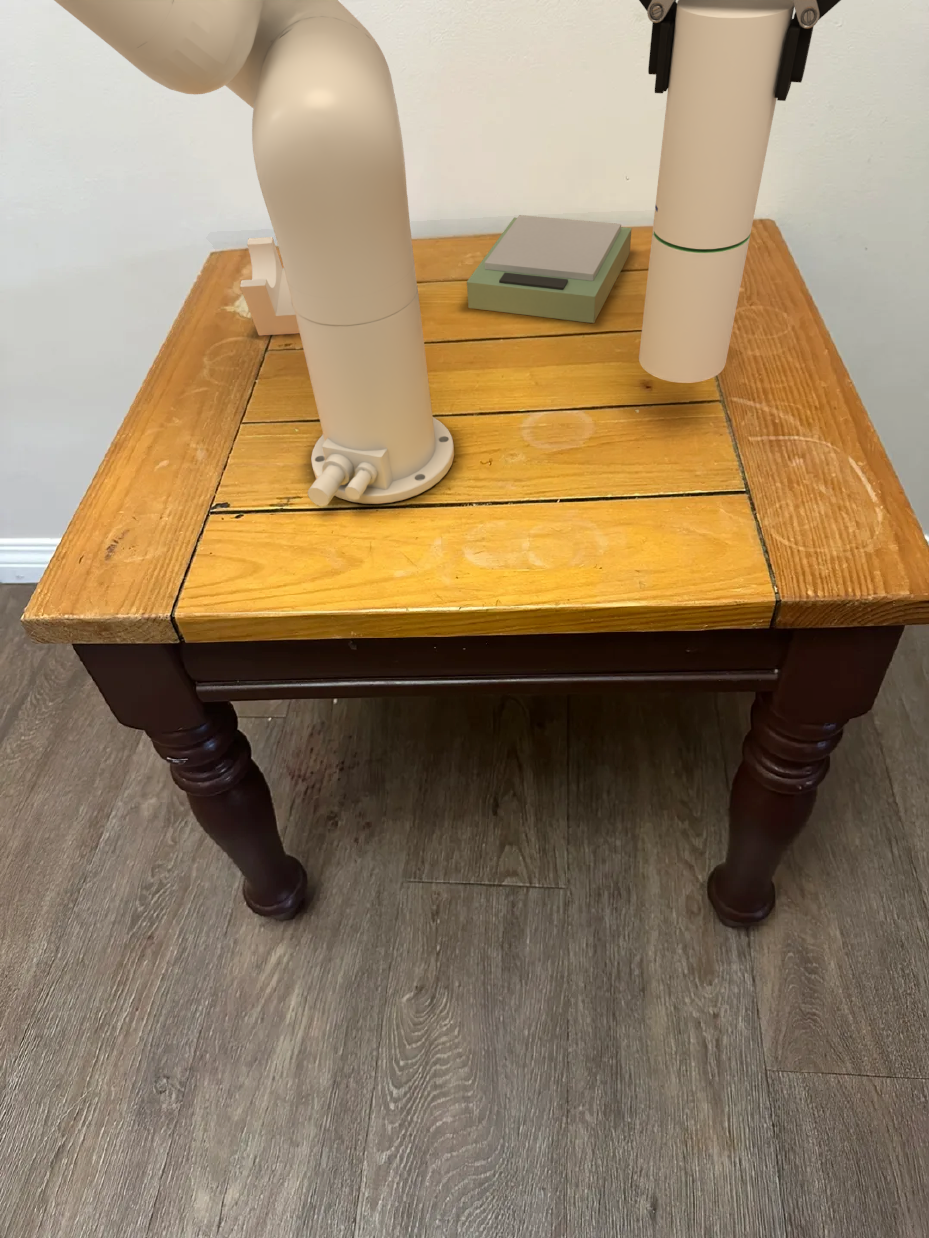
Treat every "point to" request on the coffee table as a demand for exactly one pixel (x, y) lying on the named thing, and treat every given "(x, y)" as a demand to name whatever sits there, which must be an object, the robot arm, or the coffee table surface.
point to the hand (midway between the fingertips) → (722, 88)
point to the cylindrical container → (709, 179)
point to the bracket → (268, 290)
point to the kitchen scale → (551, 268)
